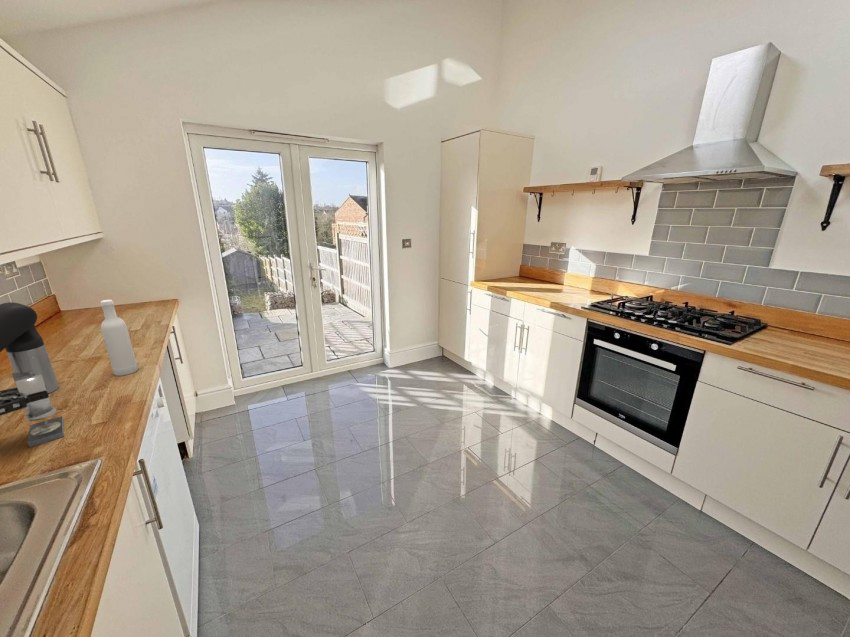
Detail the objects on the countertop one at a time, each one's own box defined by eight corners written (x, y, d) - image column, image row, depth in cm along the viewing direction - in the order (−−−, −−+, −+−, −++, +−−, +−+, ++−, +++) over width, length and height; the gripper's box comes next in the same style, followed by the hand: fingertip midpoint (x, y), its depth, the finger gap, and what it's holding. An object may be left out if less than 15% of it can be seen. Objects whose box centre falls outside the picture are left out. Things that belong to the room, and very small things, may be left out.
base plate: (63, 436, 106) (62, 431, 105) (29, 447, 101) (27, 442, 100) (63, 420, 114) (62, 415, 113) (31, 429, 109) (29, 424, 109)
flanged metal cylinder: (44, 420, 103) (30, 382, 100) (20, 421, 102) (6, 383, 99) (61, 409, 109) (49, 372, 105) (39, 410, 108) (26, 374, 105)
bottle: (142, 370, 149) (123, 299, 140) (119, 377, 142) (97, 304, 133) (133, 366, 153) (114, 297, 144) (110, 373, 146) (89, 301, 137)
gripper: (-38, 417, 99) (49, 394, 111) (-43, 438, 90) (53, 410, 102) (-49, 392, 97) (41, 371, 109) (-54, 411, 88) (44, 386, 100)
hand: (46, 390), depth 105 cm, fingers closed on flanged metal cylinder, 5 cm apart
